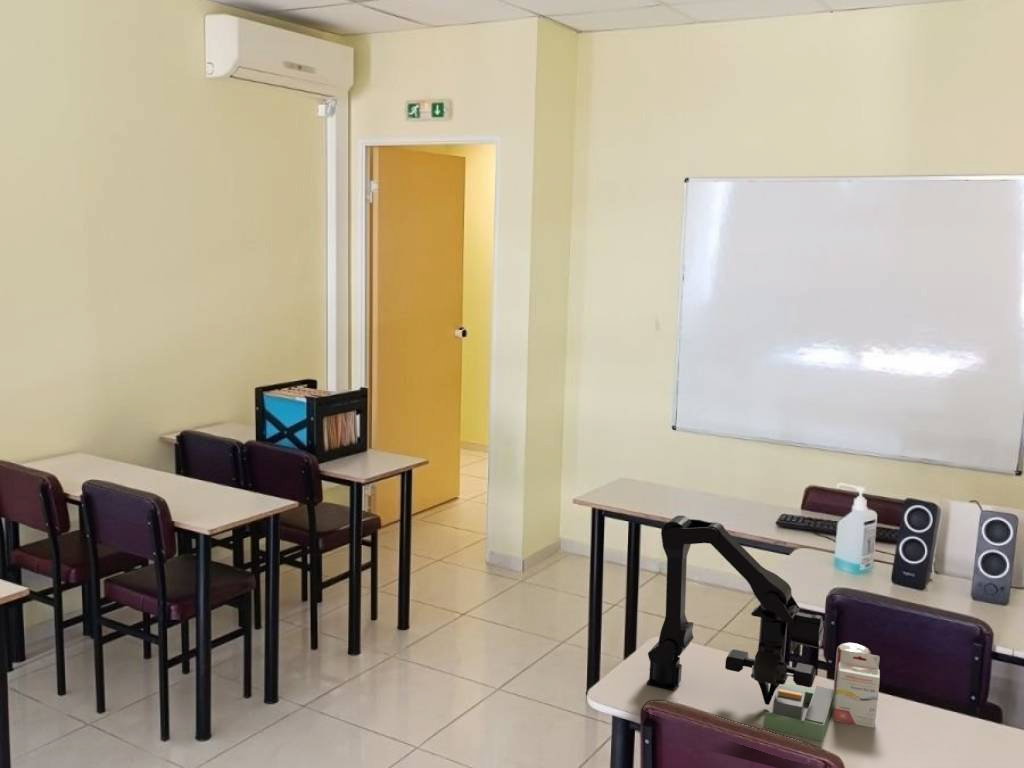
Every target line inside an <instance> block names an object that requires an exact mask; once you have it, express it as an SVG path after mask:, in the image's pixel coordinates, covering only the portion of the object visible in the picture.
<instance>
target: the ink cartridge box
mask: <svg viewBox="0 0 1024 768" xmlns="http://www.w3.org/2000/svg"><path fill="white" fill-rule="evenodd" d="M859 656H861V657H862V658H865V659H867V660H866V661H862V660H857V659H853V657H859ZM880 660H881V659H880V655H876V654H872V653H871V654H866V653H860V652H854V651H847V650H841V656H840V662H839V666H838V676H837V686H836V695H835V696H834V704H833V707H834V708H833V720H834V721H838V722H842V723H847V724H852V725H857V726H862V727H866V728H871V729H875V728H876V718H877V710H878V709H877V708H878V700H879V689H880V679H881V678H880V676H881V675H880V673H881V672H880V671H881V670H880V669H879V668H880V667H879V665H880Z"/></svg>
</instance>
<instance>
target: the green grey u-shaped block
mask: <svg viewBox="0 0 1024 768" xmlns="http://www.w3.org/2000/svg"><path fill="white" fill-rule="evenodd" d="M779 687H785V688H790V689H795V690H800V691H806V692H805V704H808V705H809V706H808V708H807V711H806V713H805V717H804V720H802V719H801V720H798V719H794V718H789V717H785V716H781V715H777V714H773V712H766V713H765V715H764V723H763V725H764V726H763V728H764V729H765V728H767V729H770V730H775V731H778V732H783V733H787V734H791V735H795V736H799V737H804V738H808V739H812V740H817V741H819V742H820V741H821V742H823V741H824V738H825V733H826V730H827V728H828V727H827V726H828V723H829V721H830V717H831V714H832V710H833V707H834V703H835V696H834V691H835V690H834V688H829V687H824V686H818V685H816V686H815V689H812V688H809V687H804V686H800V685H794V684H789V683H785V684H783V685H782V684H779Z"/></svg>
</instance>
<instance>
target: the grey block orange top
mask: <svg viewBox="0 0 1024 768" xmlns="http://www.w3.org/2000/svg"><path fill="white" fill-rule="evenodd" d="M805 692H806V691H800V690H795V689H790V688H785V687H779V686H778V687H777V688H776V691H775V696H774V700H773V707H772V714H777V715H781V716H785V717H789V718H794V719H798V720H802V719H803V718H802V717H803V713H804V711H805V710H804V709H805V704H806V702H805Z"/></svg>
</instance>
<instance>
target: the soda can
mask: <svg viewBox="0 0 1024 768" xmlns="http://www.w3.org/2000/svg"><path fill="white" fill-rule="evenodd" d="M841 650H847V651H854V652H860V653H866V654H871V655H872V652H871V650H869V648H868V647H867V646H864V645H862V644H858V643H856V642H843V643H841V644H840V645H838V646H837V648H836V656H835V667H834V668H835V669H834V670H835V671H834V679H833V681H834V682H833V690H835V691H834V697H835V695H836V686H837V676H838V666H839V662H840V656H841ZM853 659H857V660H862V661H866V660H867V659H865V658H862V657H861V656H859V657H853Z"/></svg>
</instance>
